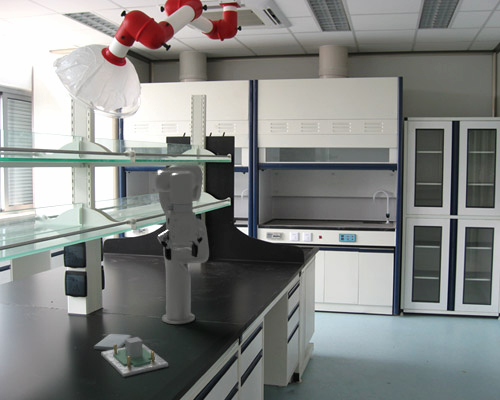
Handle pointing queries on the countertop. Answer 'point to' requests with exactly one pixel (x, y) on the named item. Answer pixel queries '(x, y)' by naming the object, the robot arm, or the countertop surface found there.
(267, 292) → the countertop surface
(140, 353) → the board
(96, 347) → the hard drive
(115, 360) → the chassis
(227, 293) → the countertop surface
